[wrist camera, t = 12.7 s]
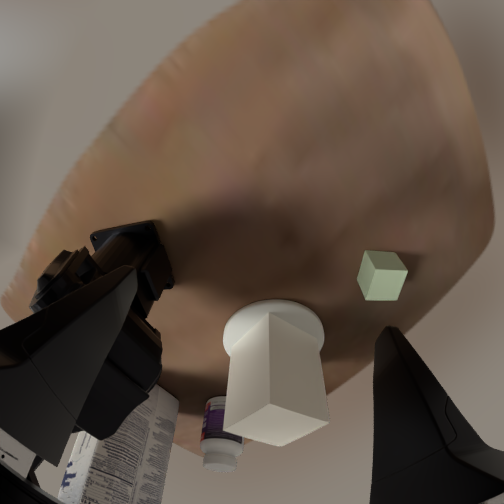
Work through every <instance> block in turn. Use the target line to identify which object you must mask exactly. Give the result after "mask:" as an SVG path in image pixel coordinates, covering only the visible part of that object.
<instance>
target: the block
mask: <svg viewBox="0 0 504 504" xmlns="http://www.w3.org/2000/svg"><path fill="white" fill-rule="evenodd" d="M407 272H408V270H407V269H406V267H405V266H404V264H403V263H402V261H401V260H400V258H399V257H398V256H397V254H396V253H395V252H384V251H370V250H365V252H364V255H363V259H362V263H361V266H360V270H359V273H358V277H357V281H358V283H359V286H360V288H361V290H362V293H363V295H364V297H365V300H397V299H398V296H399V294H400V291H401V288H402V286H403V283H404V281H405V278H406V275H407Z"/></svg>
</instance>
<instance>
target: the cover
mask: <svg viewBox="0 0 504 504" xmlns="http://www.w3.org/2000/svg"><path fill="white" fill-rule="evenodd" d="M328 423H330V418H329V412H328V405H327V397H326V391H325V384H324V378H323V372H322V365H321V359H320V354H319V348H318V342H317V338H315V337H313V336H311V335H310V334H308V333H306V332H304V331H302V330H300V329H298V328H297V327H295V326H293V325H291V324H289V323H288V322H286V321H284V320H282V319H280V318H278V317H277V316H275V315H273V314H271V313H270V312H268V313H267V314H266V315H265V316H264V317H263V318H262V319H261V320H260V321H259V322H258V323H257V324H256V325H255V326H254V327H252V328H251V329H250V330H249V331H248V332H247V333H246V334H245V335H244V336H243V337H242V338H241V339H240V340H239V341H238V342H237V343H235V344H234V345H233V346H232V349H231V358H230V367H229V377H228V386H227V395H226V405H225V414H224V424H223V431H226V432H229V433H232V434H236V435H239V436H242V437H245V438H249V439H252V440H256V441H260V442H264V443H267V444H271V445H275V446H280V447H281V446H283V445H286V444H288V443H290V442H292V441H294V440H297V439H299V438H301V437H303V436H305V435H307V434H309V433H311V432H313V431H315V430H317V429H319V428H321V427H323V426H325V425H327V424H328Z"/></svg>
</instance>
